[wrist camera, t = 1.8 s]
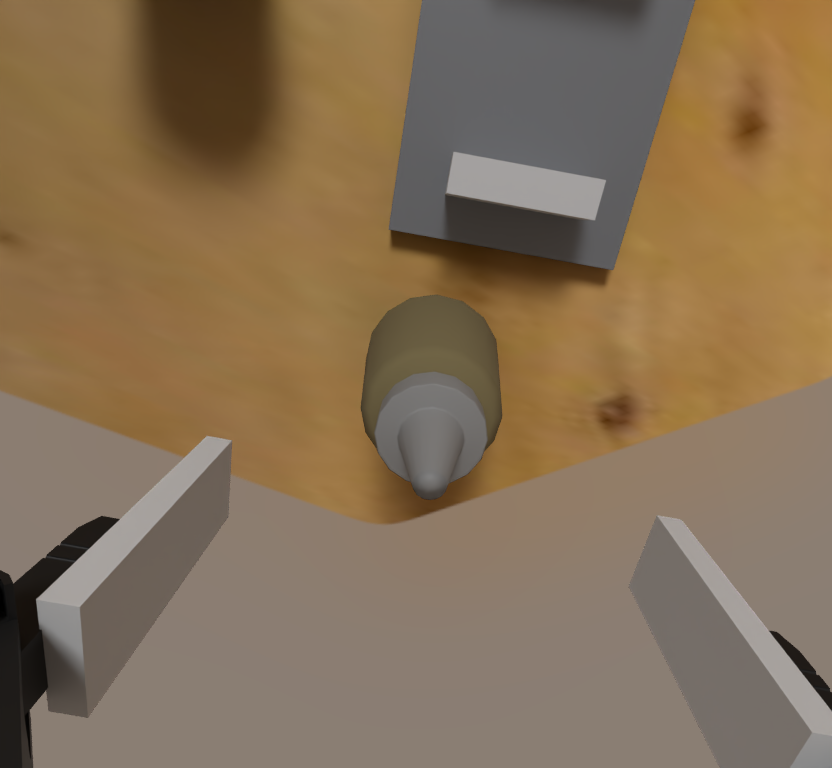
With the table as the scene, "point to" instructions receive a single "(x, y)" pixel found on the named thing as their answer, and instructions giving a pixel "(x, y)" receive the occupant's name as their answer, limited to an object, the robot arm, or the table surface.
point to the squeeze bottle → (431, 391)
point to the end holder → (534, 121)
